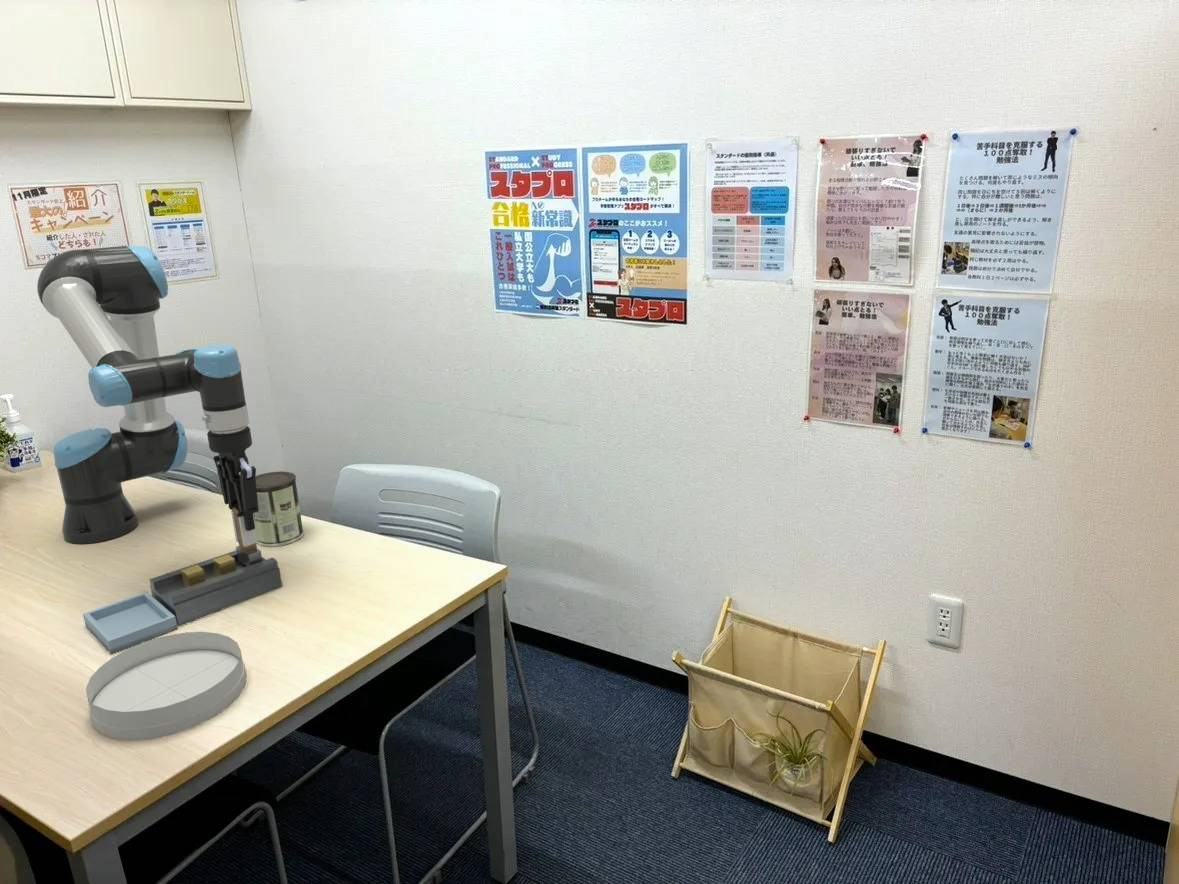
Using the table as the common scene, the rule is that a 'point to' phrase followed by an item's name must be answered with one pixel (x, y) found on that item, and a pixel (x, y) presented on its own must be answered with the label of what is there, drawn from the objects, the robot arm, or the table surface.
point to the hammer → (248, 553)
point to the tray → (129, 622)
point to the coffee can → (277, 509)
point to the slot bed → (214, 588)
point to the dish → (165, 685)
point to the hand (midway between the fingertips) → (247, 541)
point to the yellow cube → (224, 565)
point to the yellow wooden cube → (193, 576)
